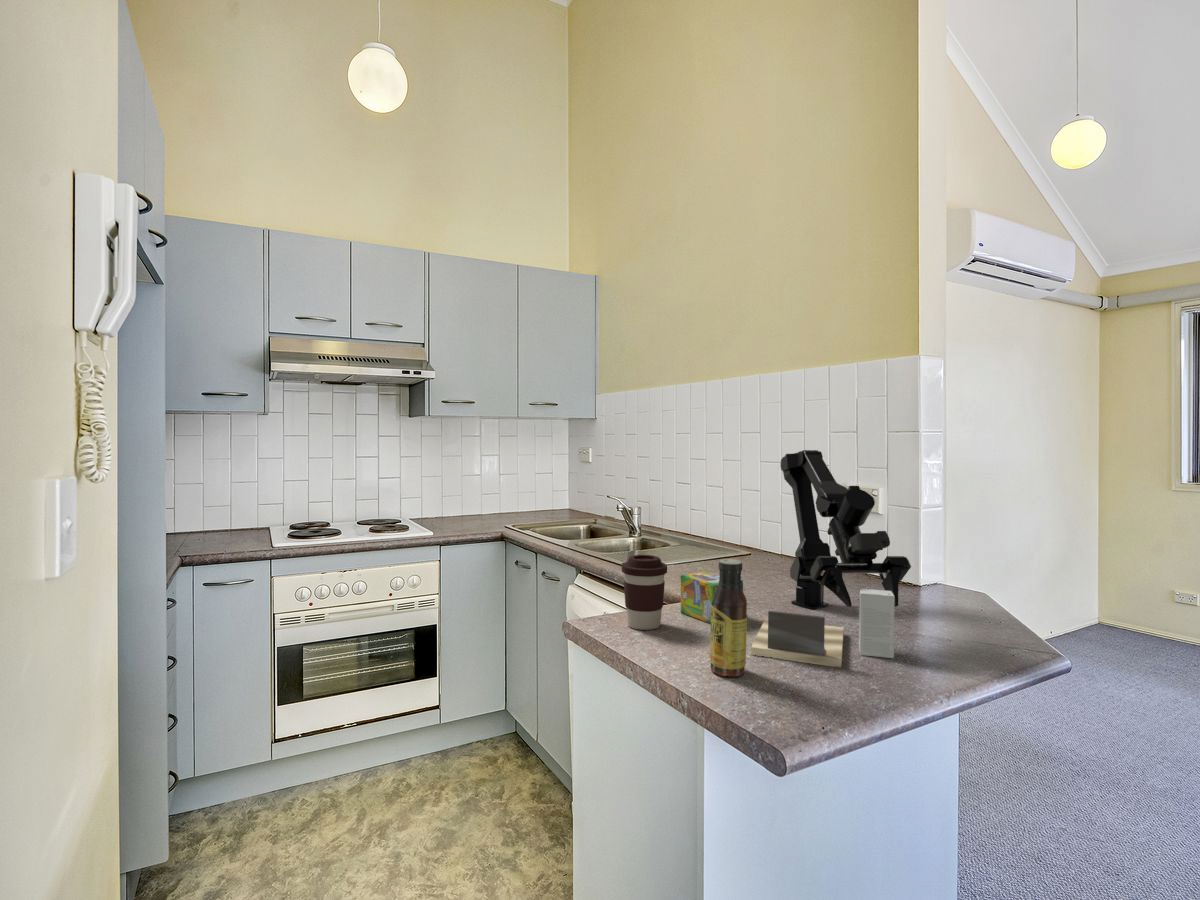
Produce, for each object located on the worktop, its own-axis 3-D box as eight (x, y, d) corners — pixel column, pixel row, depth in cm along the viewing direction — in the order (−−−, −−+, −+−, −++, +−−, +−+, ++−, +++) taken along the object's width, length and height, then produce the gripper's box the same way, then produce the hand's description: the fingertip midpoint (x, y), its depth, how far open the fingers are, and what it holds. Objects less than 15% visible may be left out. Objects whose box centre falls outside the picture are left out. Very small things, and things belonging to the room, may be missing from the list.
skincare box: (891, 651, 119) (892, 590, 119) (894, 659, 115) (895, 596, 115) (857, 648, 121) (858, 587, 121) (859, 655, 117) (860, 593, 117)
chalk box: (679, 574, 144) (724, 587, 131) (708, 570, 149) (754, 582, 136) (679, 614, 144) (724, 630, 132) (708, 608, 149) (754, 623, 136)
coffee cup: (653, 635, 128) (654, 564, 127) (612, 627, 133) (613, 558, 133) (674, 623, 136) (674, 556, 136) (634, 616, 141) (635, 551, 141)
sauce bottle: (705, 665, 111) (707, 556, 111) (739, 664, 112) (740, 556, 111) (715, 680, 105) (716, 564, 104) (751, 679, 105) (752, 564, 105)
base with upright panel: (765, 624, 136) (765, 586, 135) (843, 634, 129) (844, 594, 129) (751, 654, 117) (751, 610, 117) (841, 667, 111) (842, 621, 111)
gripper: (816, 516, 124) (839, 584, 113) (906, 516, 125) (938, 583, 114) (801, 548, 132) (821, 614, 121) (886, 548, 133) (914, 613, 122)
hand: (873, 606), depth 119 cm, fingers open, 9 cm apart
